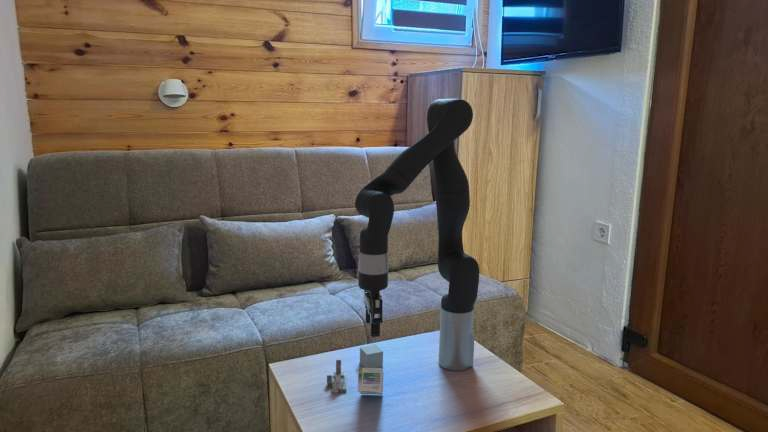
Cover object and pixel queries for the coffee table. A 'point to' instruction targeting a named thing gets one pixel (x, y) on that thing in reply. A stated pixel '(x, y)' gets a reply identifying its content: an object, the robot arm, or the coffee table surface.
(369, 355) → the grey block
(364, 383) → the syrup box
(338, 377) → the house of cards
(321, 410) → the coffee table surface
